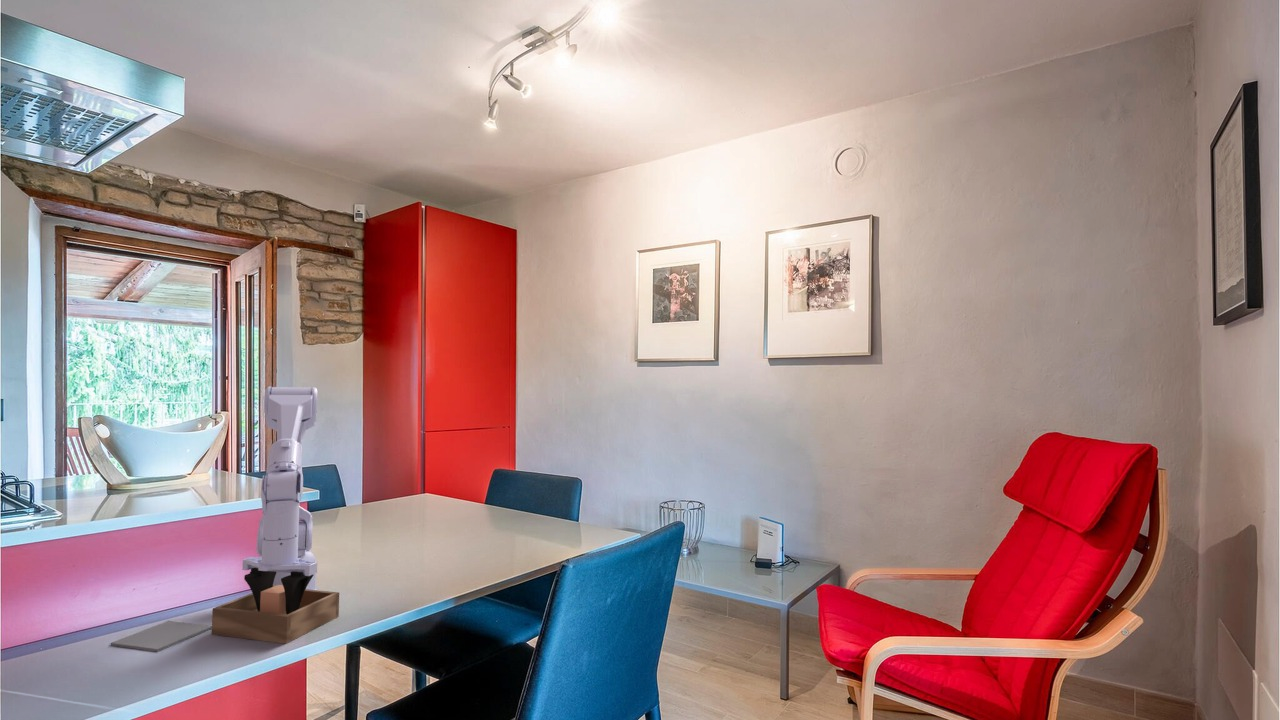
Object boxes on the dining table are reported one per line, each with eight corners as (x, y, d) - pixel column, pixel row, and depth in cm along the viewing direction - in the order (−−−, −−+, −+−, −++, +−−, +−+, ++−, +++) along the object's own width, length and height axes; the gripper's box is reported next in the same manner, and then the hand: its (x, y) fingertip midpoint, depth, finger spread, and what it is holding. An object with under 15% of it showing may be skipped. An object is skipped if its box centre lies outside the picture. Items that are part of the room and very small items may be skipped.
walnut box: (269, 609, 119) (270, 585, 119) (338, 616, 116) (339, 592, 116) (211, 634, 107) (212, 608, 107) (286, 643, 103) (287, 616, 104)
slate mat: (168, 622, 112) (168, 620, 112) (213, 628, 110) (213, 625, 110) (110, 645, 102) (110, 642, 102) (158, 651, 100) (158, 649, 100)
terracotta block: (277, 611, 114) (278, 584, 114) (295, 613, 113) (296, 586, 113) (259, 619, 110) (260, 591, 110) (278, 621, 109) (279, 593, 109)
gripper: (229, 539, 110) (226, 615, 109) (297, 544, 106) (294, 623, 106) (261, 530, 116) (258, 602, 116) (326, 535, 113) (324, 609, 113)
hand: (278, 611), depth 111 cm, fingers open, 6 cm apart
